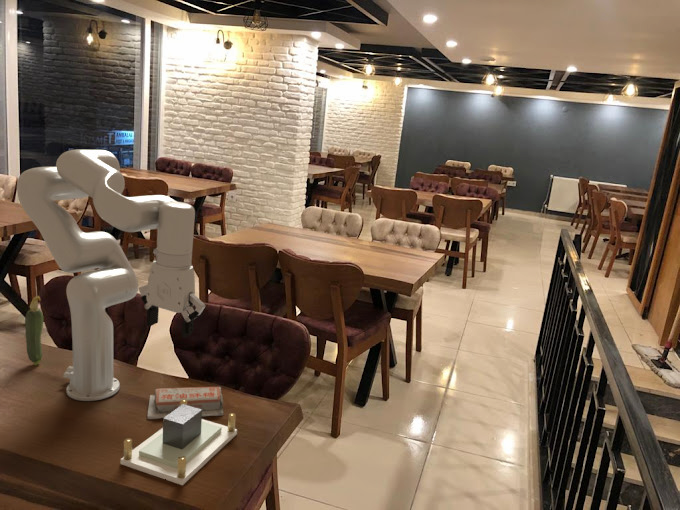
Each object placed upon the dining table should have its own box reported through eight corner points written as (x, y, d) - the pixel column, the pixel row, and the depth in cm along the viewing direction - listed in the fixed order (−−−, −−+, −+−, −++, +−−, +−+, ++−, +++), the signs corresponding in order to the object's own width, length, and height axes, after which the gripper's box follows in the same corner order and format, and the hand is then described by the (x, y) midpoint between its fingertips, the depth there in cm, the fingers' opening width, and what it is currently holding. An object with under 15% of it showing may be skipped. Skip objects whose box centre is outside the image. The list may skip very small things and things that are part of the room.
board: (138, 455, 116) (139, 425, 115) (184, 420, 131) (185, 393, 129) (179, 469, 113) (180, 437, 111) (221, 431, 128) (222, 403, 126)
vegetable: (23, 365, 153) (20, 296, 148) (34, 359, 157) (31, 292, 152) (37, 367, 152) (35, 298, 148) (48, 361, 156) (46, 294, 152)
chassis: (120, 464, 115) (120, 441, 114) (182, 417, 135) (182, 398, 133) (182, 485, 110) (183, 462, 109) (237, 434, 130) (238, 414, 129)
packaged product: (222, 381, 145) (224, 399, 136) (221, 397, 147) (223, 417, 137) (149, 383, 141) (147, 402, 131) (149, 400, 142) (146, 421, 132)
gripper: (130, 253, 121) (127, 325, 126) (196, 271, 116) (190, 346, 120) (153, 247, 128) (149, 315, 133) (216, 263, 123) (210, 335, 127)
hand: (169, 330), depth 126 cm, fingers open, 9 cm apart
